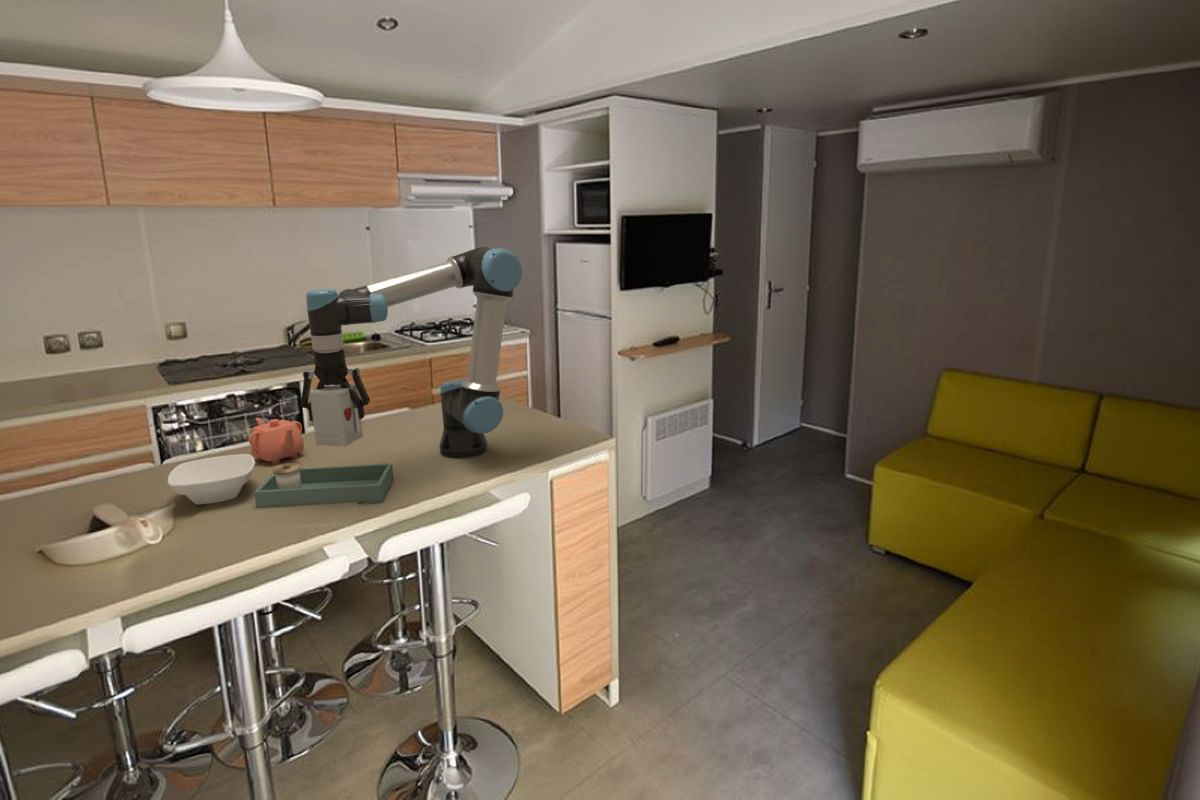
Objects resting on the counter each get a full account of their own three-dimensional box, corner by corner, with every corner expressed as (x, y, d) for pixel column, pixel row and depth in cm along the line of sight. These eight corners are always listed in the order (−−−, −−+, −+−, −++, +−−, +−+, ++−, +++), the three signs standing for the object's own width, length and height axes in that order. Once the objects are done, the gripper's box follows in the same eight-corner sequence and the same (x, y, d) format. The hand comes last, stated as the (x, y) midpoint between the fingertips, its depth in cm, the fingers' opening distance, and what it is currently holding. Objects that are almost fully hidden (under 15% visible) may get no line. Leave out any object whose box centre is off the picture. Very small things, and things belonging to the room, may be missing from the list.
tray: (393, 479, 194) (392, 463, 192) (382, 502, 178) (380, 485, 177) (278, 486, 191) (276, 469, 189) (256, 510, 175) (253, 492, 174)
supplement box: (346, 447, 176) (339, 392, 172) (315, 445, 177) (307, 391, 173) (364, 436, 184) (358, 383, 180) (335, 434, 186) (328, 382, 182)
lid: (304, 464, 185) (303, 459, 185) (296, 473, 179) (295, 468, 178) (278, 466, 184) (277, 460, 184) (269, 475, 178) (268, 469, 177)
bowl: (167, 520, 171) (161, 489, 168) (180, 490, 189) (174, 462, 187) (257, 505, 179) (252, 475, 176) (261, 478, 197) (256, 450, 195)
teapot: (298, 465, 206) (292, 426, 203) (242, 468, 205) (235, 428, 202) (313, 448, 221) (308, 412, 217) (261, 451, 219) (255, 414, 216)
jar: (305, 488, 187) (302, 464, 185) (298, 497, 181) (294, 473, 179) (283, 489, 186) (279, 466, 184) (275, 498, 180) (271, 474, 178)
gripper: (376, 345, 179) (385, 424, 185) (288, 348, 177) (299, 428, 183) (370, 351, 172) (379, 433, 178) (278, 354, 169) (290, 437, 176)
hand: (339, 431), depth 180 cm, fingers closed on supplement box, 10 cm apart
